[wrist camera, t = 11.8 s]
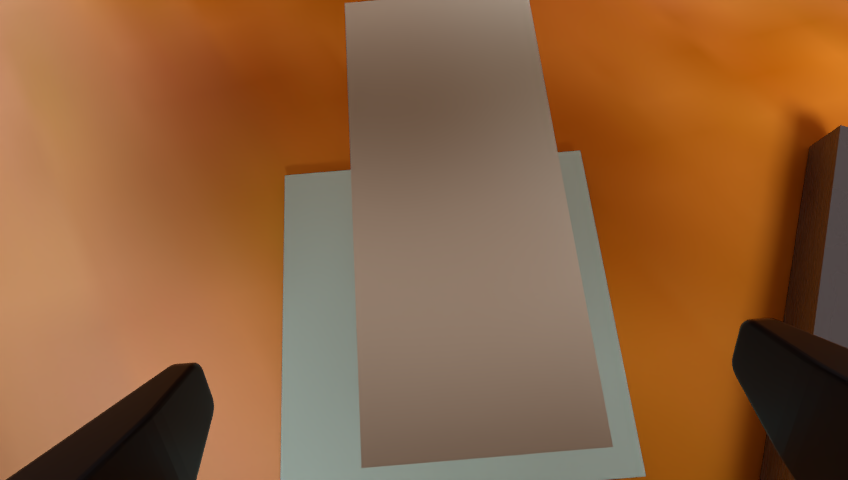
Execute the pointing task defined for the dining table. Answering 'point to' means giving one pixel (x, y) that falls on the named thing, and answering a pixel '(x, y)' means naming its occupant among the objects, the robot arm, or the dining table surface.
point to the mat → (338, 363)
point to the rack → (819, 260)
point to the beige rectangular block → (462, 241)
